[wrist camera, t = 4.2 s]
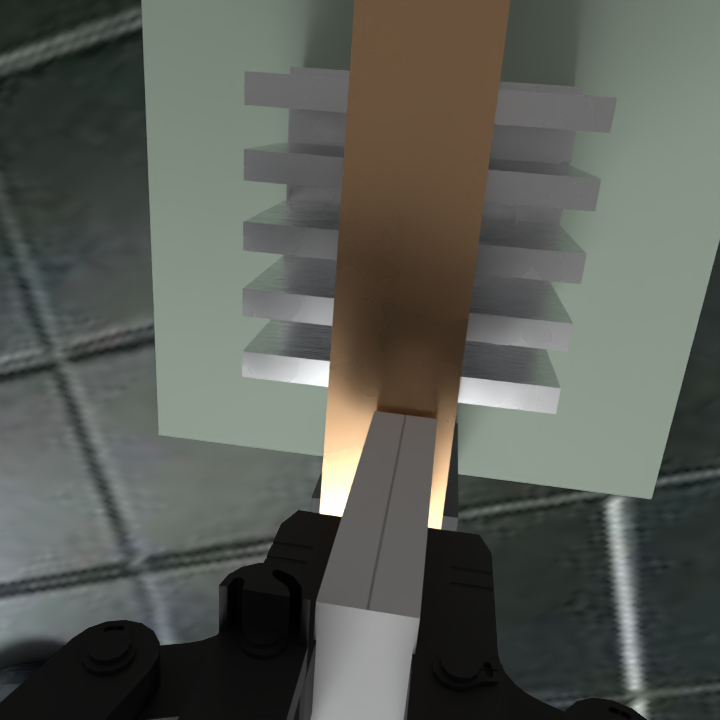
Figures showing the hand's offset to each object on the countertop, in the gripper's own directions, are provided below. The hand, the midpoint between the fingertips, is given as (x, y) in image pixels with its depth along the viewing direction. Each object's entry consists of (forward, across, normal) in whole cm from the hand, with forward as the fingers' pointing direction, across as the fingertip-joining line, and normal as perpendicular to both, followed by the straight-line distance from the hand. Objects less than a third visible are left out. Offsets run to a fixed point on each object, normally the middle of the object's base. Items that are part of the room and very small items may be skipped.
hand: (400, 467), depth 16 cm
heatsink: (+8, 0, +5) cm, 9 cm away
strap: (+1, 0, +5) cm, 5 cm away
